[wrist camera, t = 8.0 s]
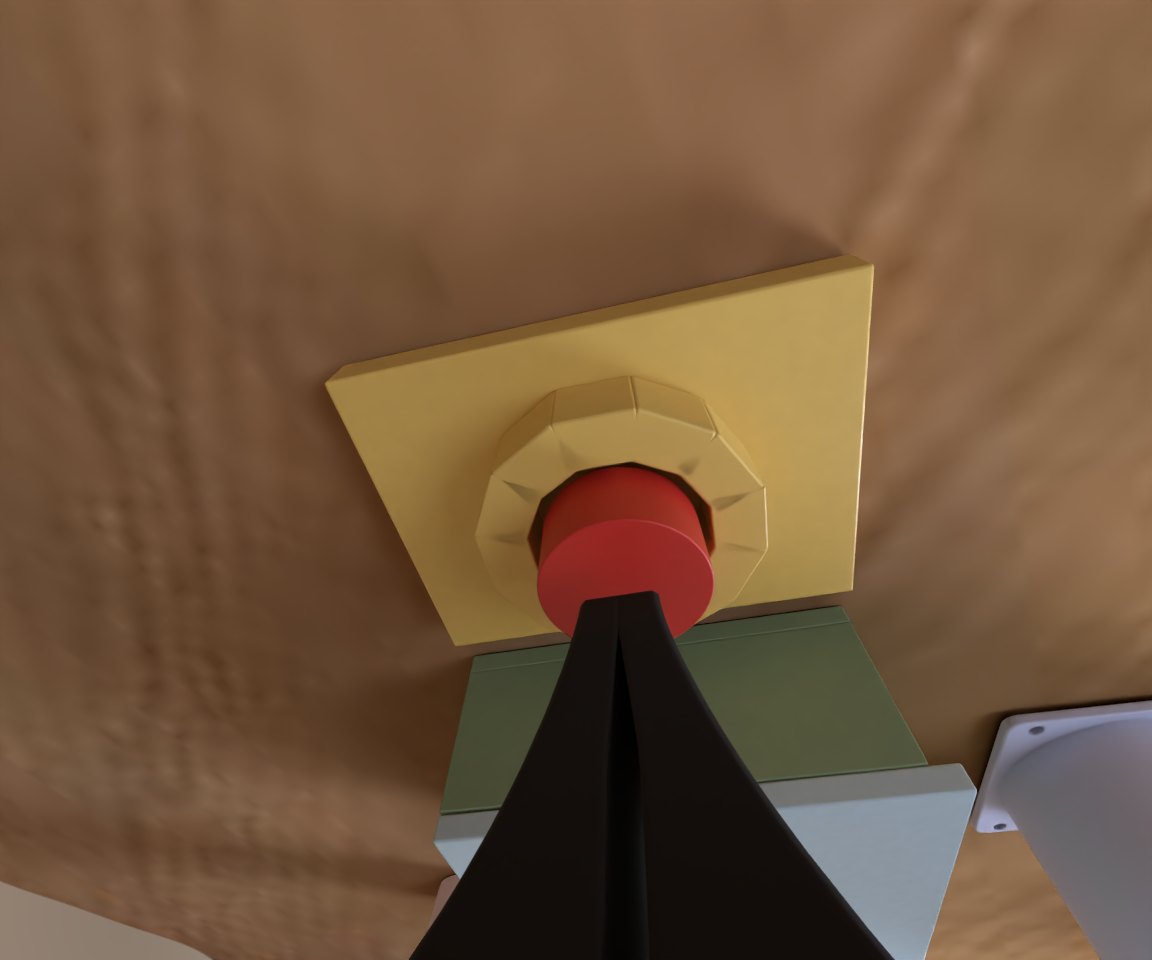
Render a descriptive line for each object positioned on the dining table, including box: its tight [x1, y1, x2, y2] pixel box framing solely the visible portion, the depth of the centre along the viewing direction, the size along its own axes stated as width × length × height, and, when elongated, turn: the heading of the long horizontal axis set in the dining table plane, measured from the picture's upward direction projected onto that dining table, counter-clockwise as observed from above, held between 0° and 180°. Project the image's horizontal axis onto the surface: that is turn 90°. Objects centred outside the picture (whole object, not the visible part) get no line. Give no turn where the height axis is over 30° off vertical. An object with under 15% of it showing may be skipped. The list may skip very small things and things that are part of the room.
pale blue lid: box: [433, 763, 977, 960], centre depth 16 cm, size 13×11×1 cm
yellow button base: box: [325, 254, 874, 646], centre depth 13 cm, size 12×9×3 cm
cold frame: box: [439, 606, 928, 816], centre depth 19 cm, size 12×11×5 cm
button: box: [537, 467, 714, 638], centre depth 12 cm, size 4×4×2 cm
